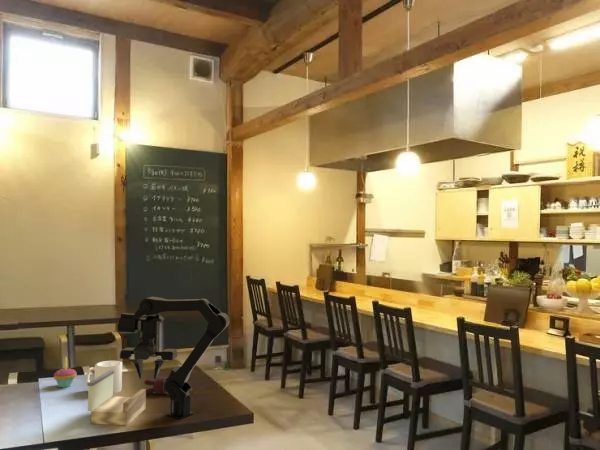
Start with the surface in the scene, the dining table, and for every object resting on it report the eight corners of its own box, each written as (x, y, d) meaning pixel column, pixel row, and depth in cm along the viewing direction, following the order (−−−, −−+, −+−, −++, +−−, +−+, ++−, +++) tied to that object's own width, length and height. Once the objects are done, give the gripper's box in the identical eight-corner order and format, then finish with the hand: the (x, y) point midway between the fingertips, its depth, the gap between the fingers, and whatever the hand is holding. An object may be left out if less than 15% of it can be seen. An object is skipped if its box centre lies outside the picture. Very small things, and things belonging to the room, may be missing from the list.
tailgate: (113, 396, 180) (114, 370, 181) (91, 411, 164) (92, 383, 164) (109, 395, 180) (109, 370, 181) (86, 411, 164) (87, 382, 164)
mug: (81, 394, 194) (82, 367, 195) (90, 387, 204) (90, 360, 205) (117, 394, 196) (118, 366, 196) (124, 386, 206) (125, 360, 206)
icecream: (184, 374, 202) (146, 377, 201) (181, 374, 195) (141, 378, 194) (184, 392, 200) (146, 396, 199) (181, 393, 193) (141, 396, 192)
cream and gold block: (145, 408, 179) (145, 389, 180) (127, 425, 163) (127, 403, 164) (112, 407, 180) (113, 387, 180) (91, 423, 164) (91, 401, 164)
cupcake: (53, 384, 207) (54, 355, 208) (76, 382, 211) (77, 353, 211) (53, 390, 200) (54, 359, 200) (76, 387, 203) (77, 357, 204)
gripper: (113, 337, 168) (111, 384, 167) (167, 338, 167) (166, 386, 166) (126, 331, 179) (125, 375, 178) (178, 332, 178) (177, 377, 177)
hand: (148, 378), depth 175 cm, fingers open, 5 cm apart
